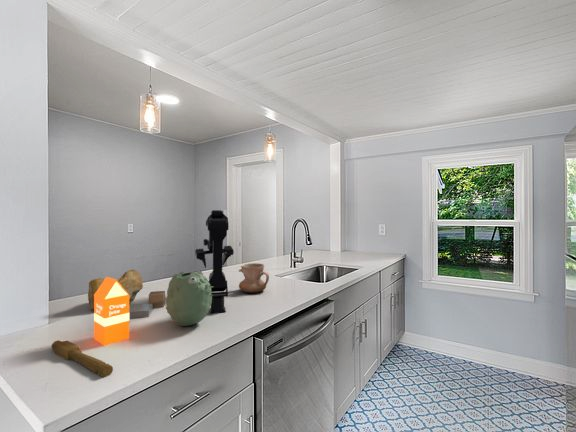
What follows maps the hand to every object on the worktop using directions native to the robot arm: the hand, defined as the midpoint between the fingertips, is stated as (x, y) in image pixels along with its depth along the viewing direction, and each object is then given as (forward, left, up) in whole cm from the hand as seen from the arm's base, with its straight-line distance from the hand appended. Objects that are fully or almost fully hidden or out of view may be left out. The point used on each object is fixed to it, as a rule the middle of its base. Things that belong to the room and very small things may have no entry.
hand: (214, 266), depth 160 cm
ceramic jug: (-2, -21, -14) cm, 25 cm away
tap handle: (-67, +39, -15) cm, 79 cm away
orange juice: (-52, +34, -14) cm, 64 cm away
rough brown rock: (-9, +45, -14) cm, 49 cm away
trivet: (-27, +31, -14) cm, 44 cm away
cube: (-17, +25, -14) cm, 34 cm away
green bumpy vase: (-45, +10, -14) cm, 48 cm away
